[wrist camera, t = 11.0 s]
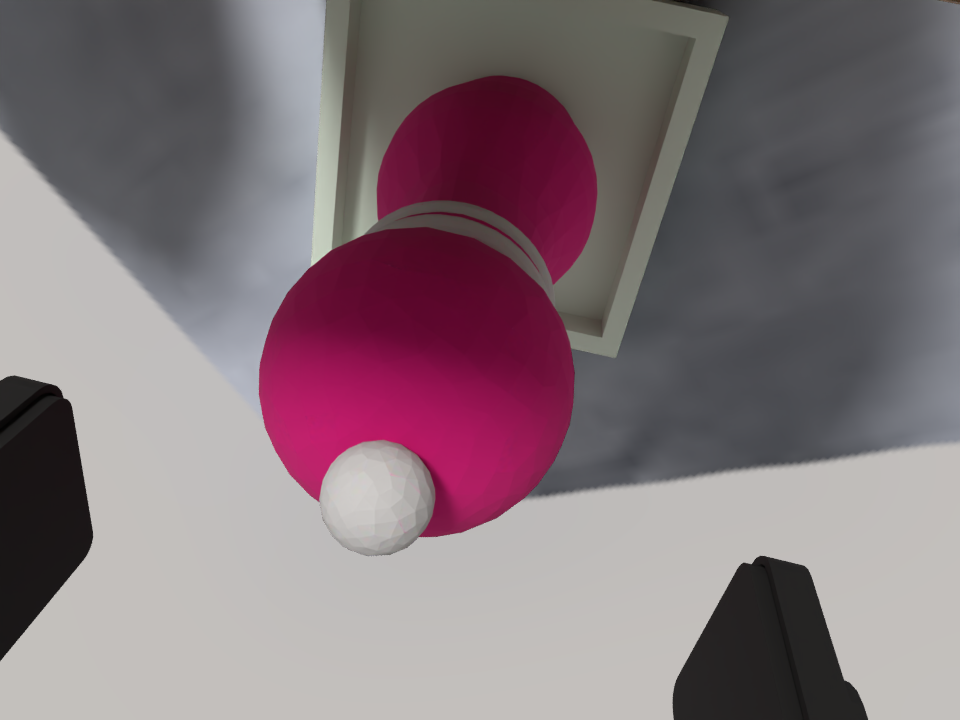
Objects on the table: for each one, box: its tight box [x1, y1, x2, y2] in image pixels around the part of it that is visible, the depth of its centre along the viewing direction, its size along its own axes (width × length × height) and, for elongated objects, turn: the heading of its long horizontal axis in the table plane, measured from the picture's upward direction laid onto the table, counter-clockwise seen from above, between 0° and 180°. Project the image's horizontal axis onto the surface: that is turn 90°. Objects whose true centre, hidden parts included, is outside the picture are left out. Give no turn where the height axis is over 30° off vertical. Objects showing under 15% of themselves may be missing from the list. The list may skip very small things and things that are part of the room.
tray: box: [311, 0, 729, 358], centre depth 28 cm, size 13×20×5 cm, turn 170°
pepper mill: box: [259, 76, 598, 556], centre depth 19 cm, size 7×7×20 cm
